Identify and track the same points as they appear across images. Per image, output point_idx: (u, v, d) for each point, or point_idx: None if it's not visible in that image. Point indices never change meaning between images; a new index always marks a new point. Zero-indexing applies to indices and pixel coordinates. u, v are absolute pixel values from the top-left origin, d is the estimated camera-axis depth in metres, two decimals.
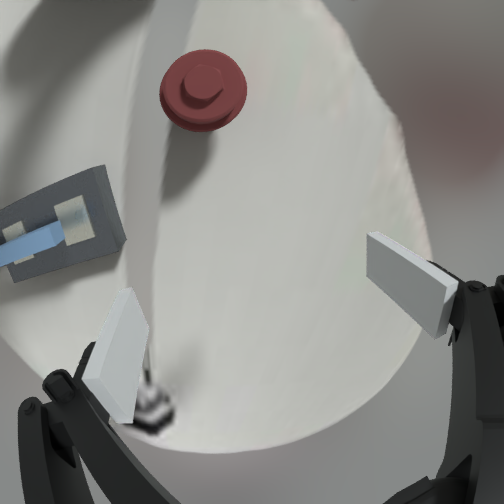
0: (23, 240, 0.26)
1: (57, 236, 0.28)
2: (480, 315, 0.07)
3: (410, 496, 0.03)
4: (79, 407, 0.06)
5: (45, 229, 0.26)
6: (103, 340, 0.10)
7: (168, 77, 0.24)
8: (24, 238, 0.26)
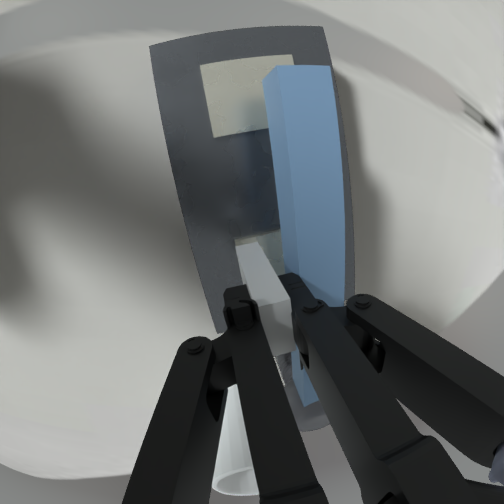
0: (299, 174, 0.11)
1: None
2: (327, 338, 0.08)
3: None
4: (254, 338, 0.09)
5: (281, 79, 0.10)
6: (254, 279, 0.12)
7: None
8: (294, 168, 0.11)
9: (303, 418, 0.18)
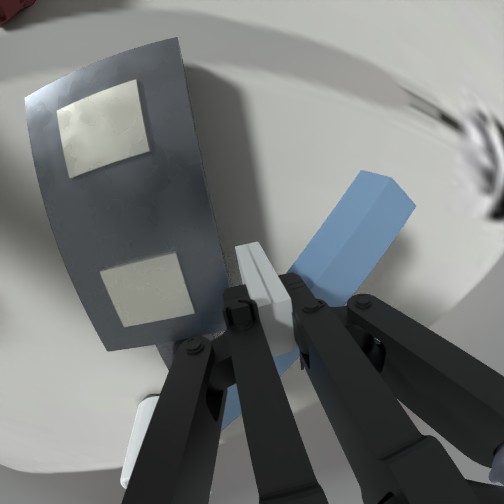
0: (340, 259, 0.13)
1: None
2: (328, 338, 0.08)
3: None
4: (254, 339, 0.09)
5: (386, 189, 0.12)
6: (253, 279, 0.12)
7: None
8: (341, 253, 0.13)
9: None
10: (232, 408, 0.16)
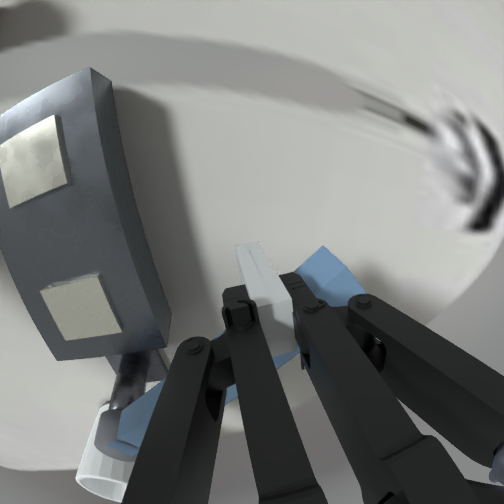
0: None
1: None
2: (328, 338, 0.08)
3: None
4: (253, 339, 0.09)
5: (337, 276, 0.13)
6: (253, 279, 0.12)
7: None
8: None
9: (107, 443, 0.16)
10: None
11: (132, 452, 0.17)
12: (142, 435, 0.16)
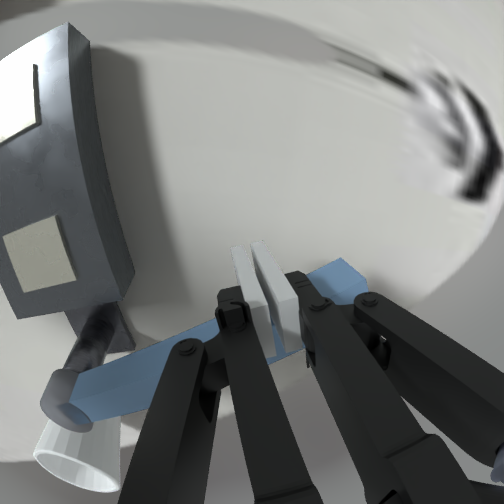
0: None
1: None
2: (334, 336, 0.08)
3: None
4: (247, 340, 0.09)
5: (355, 286, 0.14)
6: (248, 280, 0.12)
7: None
8: None
9: (56, 405, 0.14)
10: (121, 406, 0.14)
11: (79, 421, 0.14)
12: (99, 405, 0.14)
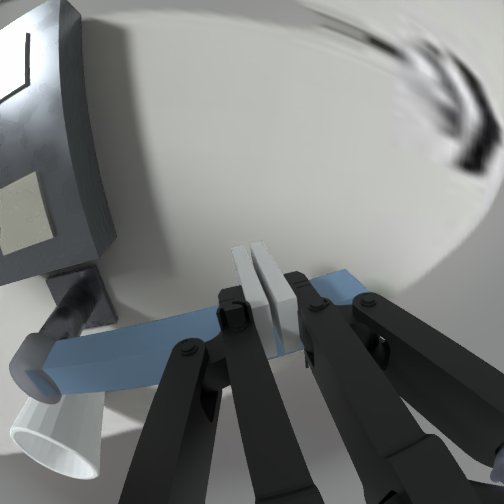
0: None
1: None
2: (333, 337, 0.08)
3: None
4: (248, 340, 0.09)
5: None
6: (249, 280, 0.12)
7: None
8: None
9: (26, 369, 0.12)
10: (98, 382, 0.13)
11: (48, 391, 0.13)
12: (74, 377, 0.13)
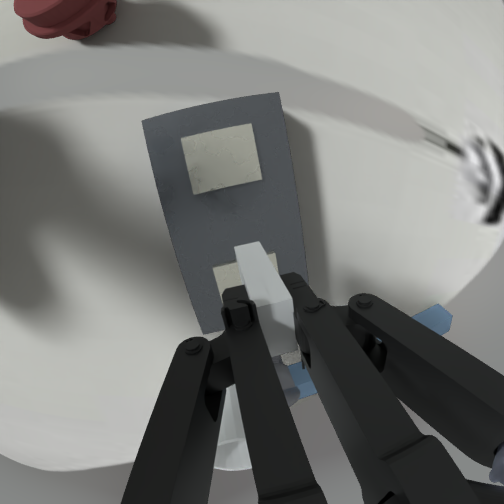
0: None
1: None
2: (329, 338, 0.08)
3: None
4: (252, 339, 0.09)
5: (448, 318, 0.26)
6: (252, 279, 0.12)
7: (32, 11, 0.09)
8: None
9: None
10: None
11: (287, 400, 0.25)
12: None
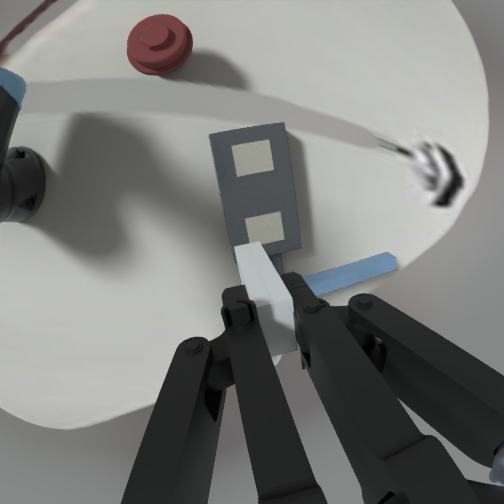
0: (375, 266, 0.46)
1: None
2: (329, 338, 0.08)
3: None
4: (252, 339, 0.09)
5: (393, 259, 0.46)
6: (252, 279, 0.12)
7: (146, 59, 0.29)
8: (376, 265, 0.46)
9: None
10: (316, 291, 0.45)
11: None
12: None
